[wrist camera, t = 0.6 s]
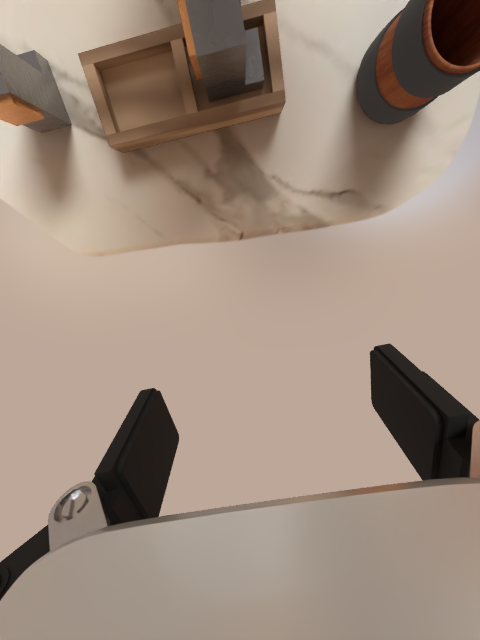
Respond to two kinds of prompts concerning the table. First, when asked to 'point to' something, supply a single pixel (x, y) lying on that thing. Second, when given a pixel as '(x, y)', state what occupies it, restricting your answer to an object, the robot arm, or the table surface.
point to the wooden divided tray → (175, 85)
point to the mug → (419, 58)
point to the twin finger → (222, 47)
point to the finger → (30, 92)
